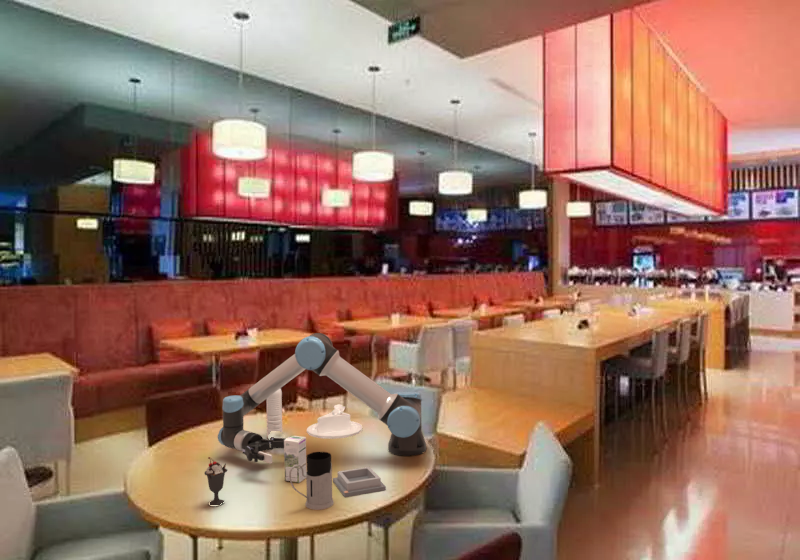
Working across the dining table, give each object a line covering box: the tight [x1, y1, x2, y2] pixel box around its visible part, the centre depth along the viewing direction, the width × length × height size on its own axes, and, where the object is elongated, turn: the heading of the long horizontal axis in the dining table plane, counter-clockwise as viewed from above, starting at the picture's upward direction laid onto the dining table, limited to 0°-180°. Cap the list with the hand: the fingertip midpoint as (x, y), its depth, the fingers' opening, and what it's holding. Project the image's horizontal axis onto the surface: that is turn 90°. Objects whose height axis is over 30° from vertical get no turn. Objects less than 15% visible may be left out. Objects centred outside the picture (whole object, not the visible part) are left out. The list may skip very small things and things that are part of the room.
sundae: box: [204, 456, 228, 506], centre depth 174 cm, size 7×7×15 cm
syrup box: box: [283, 435, 307, 484], centre depth 193 cm, size 6×6×14 cm
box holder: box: [332, 466, 387, 498], centre depth 187 cm, size 14×14×4 cm
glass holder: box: [289, 451, 335, 511], centre depth 172 cm, size 9×14×15 cm, turn 125°
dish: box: [306, 403, 363, 440], centre depth 250 cm, size 25×25×11 cm
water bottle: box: [265, 388, 283, 437], centre depth 240 cm, size 9×6×25 cm
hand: (287, 453), depth 195 cm, fingers open, 13 cm apart
